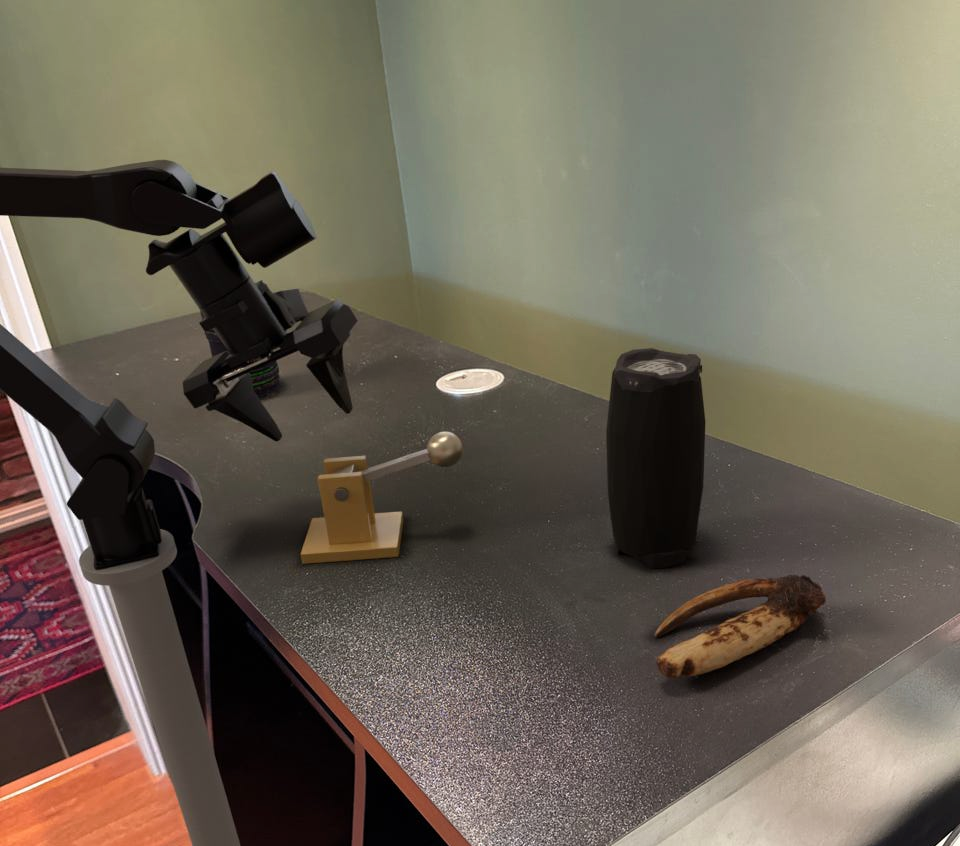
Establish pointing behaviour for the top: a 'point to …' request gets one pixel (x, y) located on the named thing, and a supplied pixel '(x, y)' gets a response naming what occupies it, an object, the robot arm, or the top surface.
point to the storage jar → (262, 378)
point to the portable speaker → (655, 454)
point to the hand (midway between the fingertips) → (314, 425)
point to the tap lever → (416, 457)
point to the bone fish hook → (739, 623)
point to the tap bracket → (350, 519)
